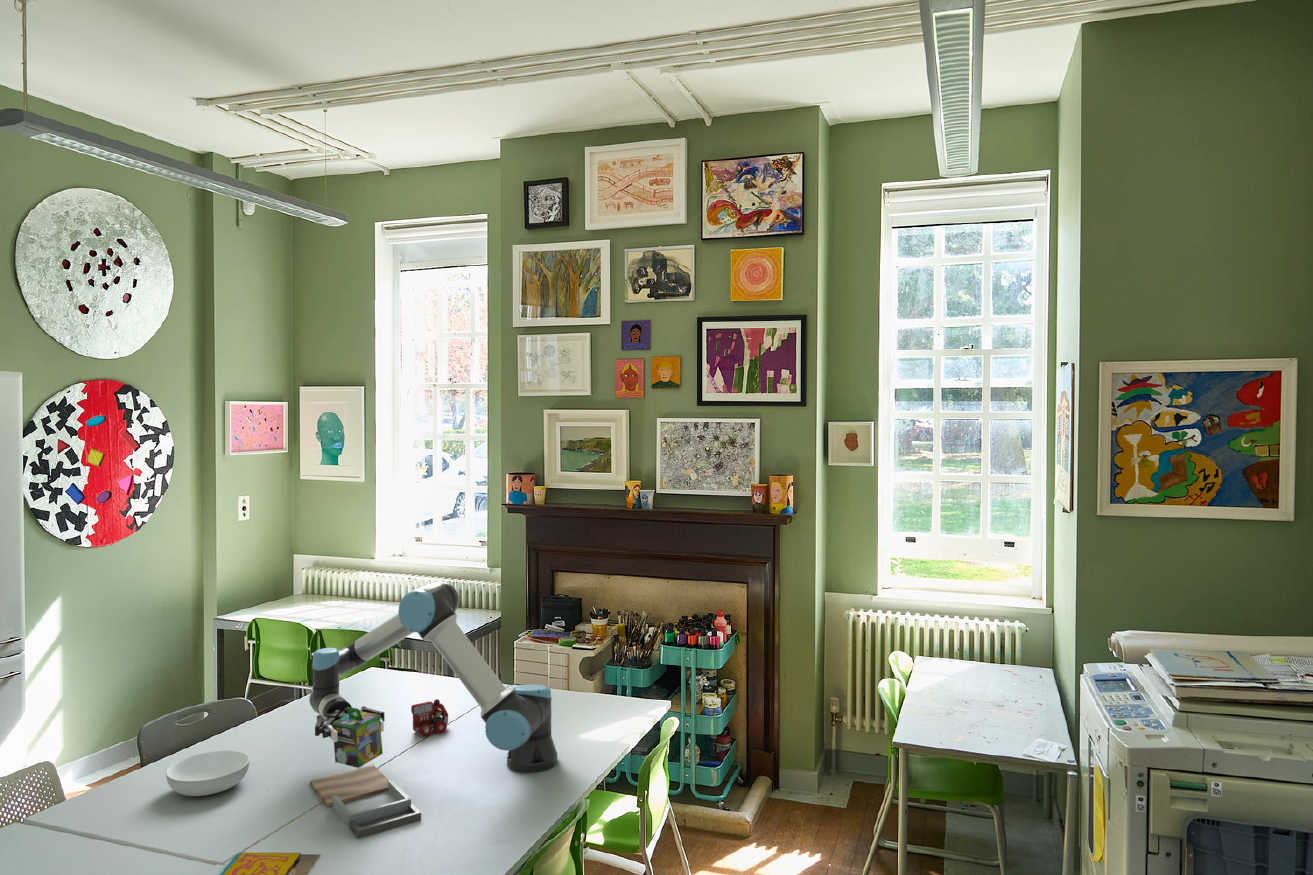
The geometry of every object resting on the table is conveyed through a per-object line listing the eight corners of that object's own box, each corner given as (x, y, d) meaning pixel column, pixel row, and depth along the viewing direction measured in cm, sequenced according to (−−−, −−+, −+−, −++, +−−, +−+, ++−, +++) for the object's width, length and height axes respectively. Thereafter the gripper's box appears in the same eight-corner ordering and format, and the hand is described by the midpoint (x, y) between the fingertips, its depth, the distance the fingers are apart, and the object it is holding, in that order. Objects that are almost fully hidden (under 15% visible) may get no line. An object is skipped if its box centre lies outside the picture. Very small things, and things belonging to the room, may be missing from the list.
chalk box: (383, 754, 231) (381, 702, 230) (358, 768, 223) (355, 715, 221) (358, 748, 235) (356, 697, 234) (333, 762, 227) (330, 709, 226)
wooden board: (310, 784, 236) (309, 780, 236) (373, 768, 247) (373, 764, 247) (327, 807, 221) (327, 803, 221) (394, 789, 232) (394, 785, 232)
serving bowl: (155, 809, 221) (155, 783, 221) (178, 777, 241) (178, 754, 241) (241, 800, 226) (241, 775, 226) (256, 769, 246) (256, 746, 246)
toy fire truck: (452, 731, 277) (451, 699, 277) (416, 739, 269) (416, 707, 269) (443, 725, 282) (443, 694, 282) (408, 733, 275) (408, 702, 275)
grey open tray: (332, 806, 222) (332, 795, 222) (391, 790, 231) (391, 779, 231) (357, 838, 204) (357, 826, 204) (421, 820, 214) (420, 808, 214)
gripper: (376, 714, 251) (402, 735, 234) (292, 732, 236) (313, 756, 219) (376, 689, 251) (402, 708, 233) (292, 705, 236) (313, 727, 219)
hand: (359, 731), depth 226 cm, fingers closed on chalk box, 12 cm apart
